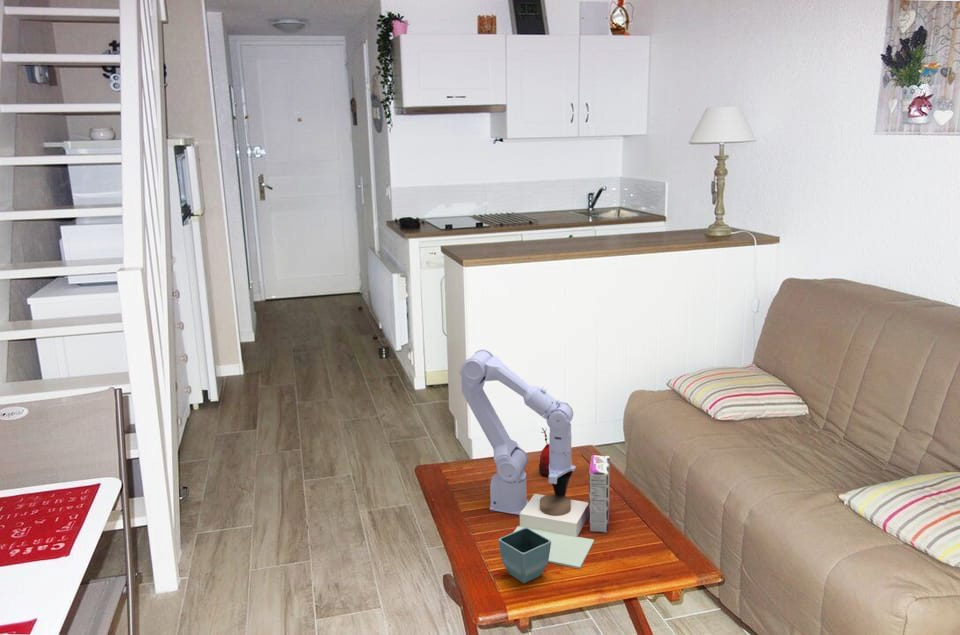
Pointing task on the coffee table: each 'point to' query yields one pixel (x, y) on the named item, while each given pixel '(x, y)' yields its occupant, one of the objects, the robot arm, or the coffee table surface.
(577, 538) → the placemat
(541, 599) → the coffee table surface
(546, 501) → the coaster
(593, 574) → the coffee table surface
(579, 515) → the riser
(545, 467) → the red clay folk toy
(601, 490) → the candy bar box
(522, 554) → the flower pot
